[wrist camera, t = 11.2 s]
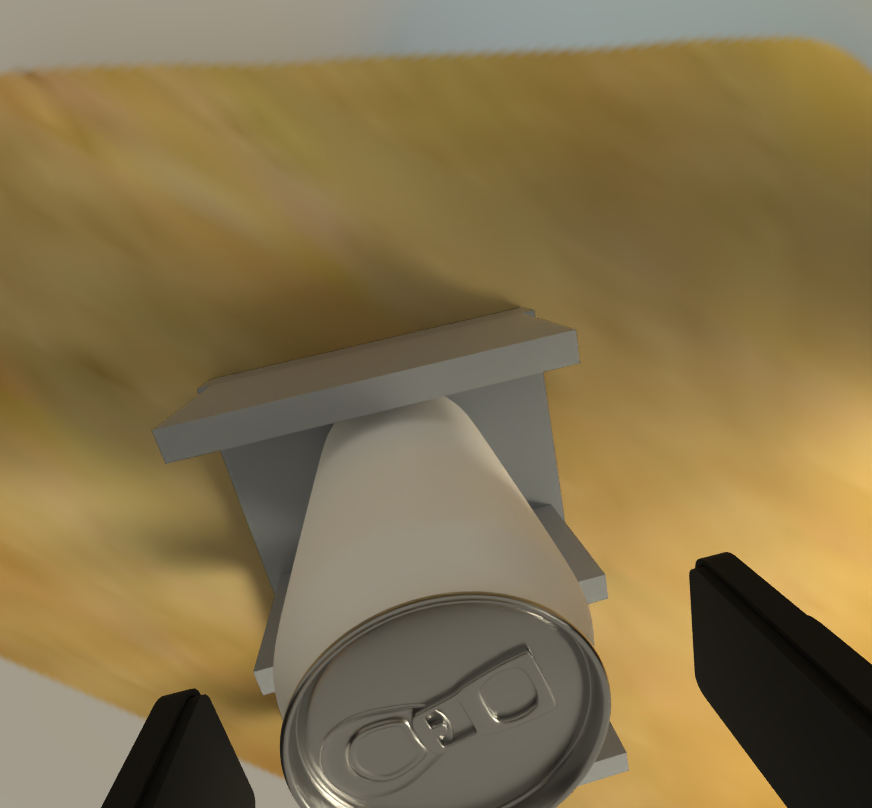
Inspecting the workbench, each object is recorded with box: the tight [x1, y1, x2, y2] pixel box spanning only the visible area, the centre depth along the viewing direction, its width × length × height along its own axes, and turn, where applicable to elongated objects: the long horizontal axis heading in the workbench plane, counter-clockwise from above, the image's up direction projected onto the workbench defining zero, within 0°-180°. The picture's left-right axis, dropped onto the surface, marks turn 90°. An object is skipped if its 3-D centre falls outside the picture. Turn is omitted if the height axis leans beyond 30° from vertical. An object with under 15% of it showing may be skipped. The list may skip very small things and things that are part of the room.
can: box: [273, 396, 611, 808], centre depth 14 cm, size 6×6×12 cm
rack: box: [152, 307, 629, 786], centre depth 19 cm, size 13×18×6 cm
